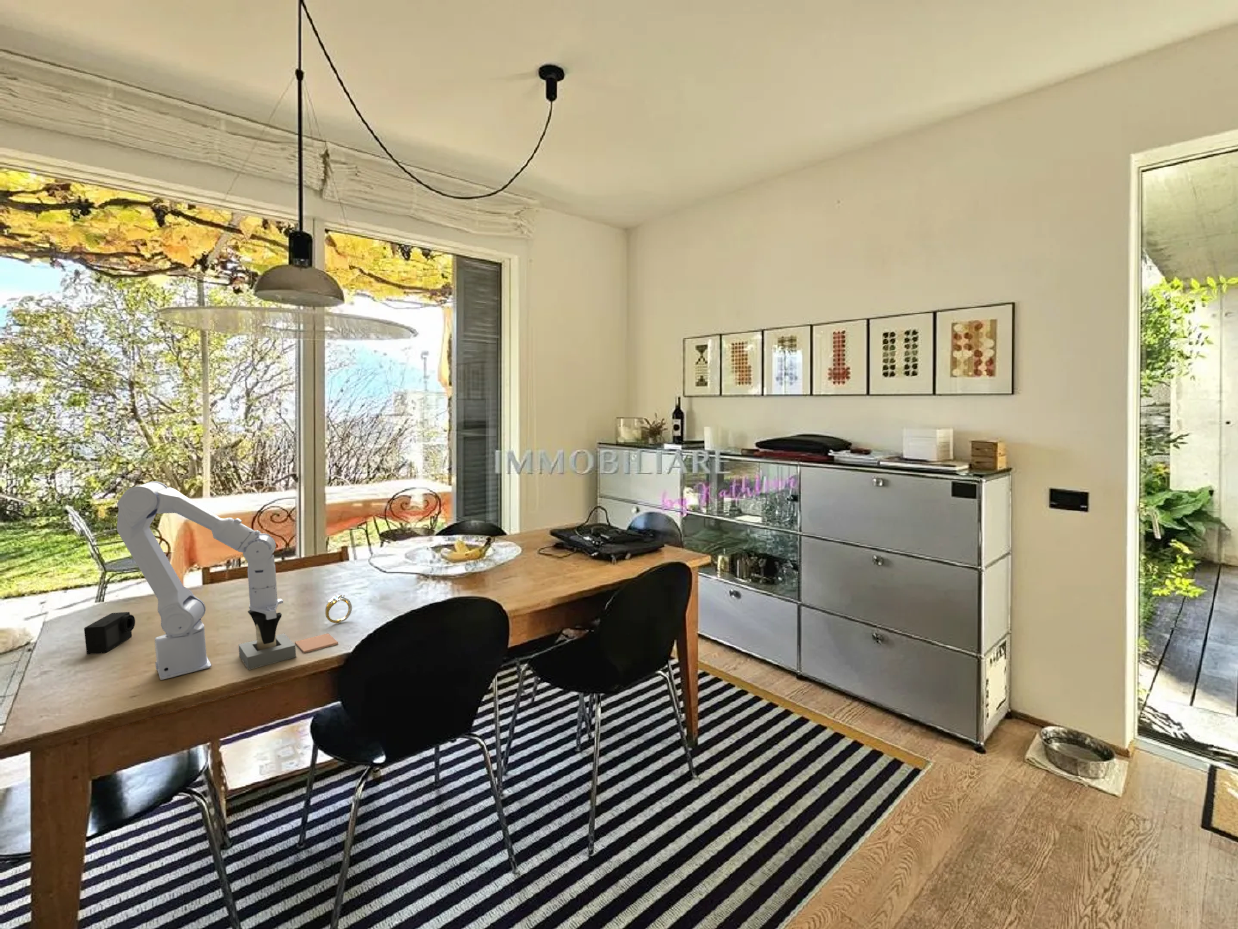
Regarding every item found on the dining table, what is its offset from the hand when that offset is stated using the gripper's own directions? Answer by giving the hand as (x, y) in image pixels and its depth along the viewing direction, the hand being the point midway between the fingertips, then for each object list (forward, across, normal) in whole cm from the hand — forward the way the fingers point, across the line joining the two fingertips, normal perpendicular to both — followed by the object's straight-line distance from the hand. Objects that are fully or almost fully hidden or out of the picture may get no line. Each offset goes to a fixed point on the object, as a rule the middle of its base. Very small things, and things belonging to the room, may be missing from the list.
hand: (266, 639), depth 142 cm
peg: (+4, 0, 0) cm, 4 cm away
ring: (+4, +11, -20) cm, 23 cm away
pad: (+4, 0, -11) cm, 12 cm away
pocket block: (+4, 0, 0) cm, 4 cm away
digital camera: (+5, +35, +27) cm, 45 cm away
